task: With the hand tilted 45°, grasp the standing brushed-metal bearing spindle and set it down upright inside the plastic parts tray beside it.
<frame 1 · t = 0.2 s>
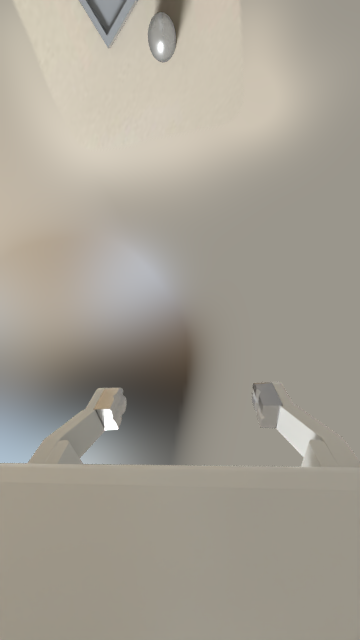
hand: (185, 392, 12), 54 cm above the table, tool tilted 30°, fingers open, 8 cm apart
metal spindle: (164, 40, 32), on the table
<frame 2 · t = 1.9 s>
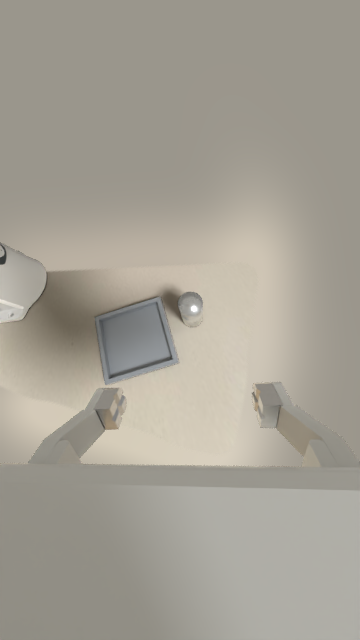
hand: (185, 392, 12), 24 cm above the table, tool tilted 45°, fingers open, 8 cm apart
parts tray: (137, 340, 38), on the table
metal spindle: (192, 317, 38), on the table
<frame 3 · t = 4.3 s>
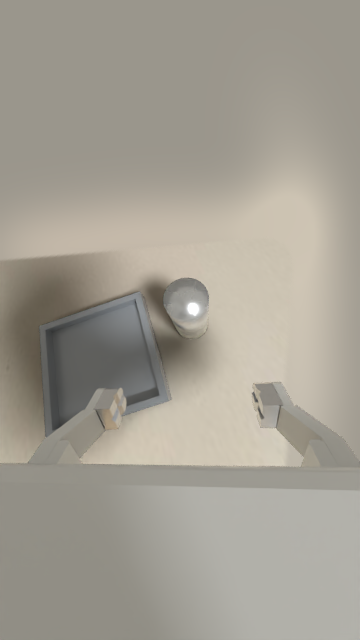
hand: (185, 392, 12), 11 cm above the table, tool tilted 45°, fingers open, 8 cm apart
parts tray: (104, 360, 24), on the table
metal spindle: (191, 323, 24), on the table
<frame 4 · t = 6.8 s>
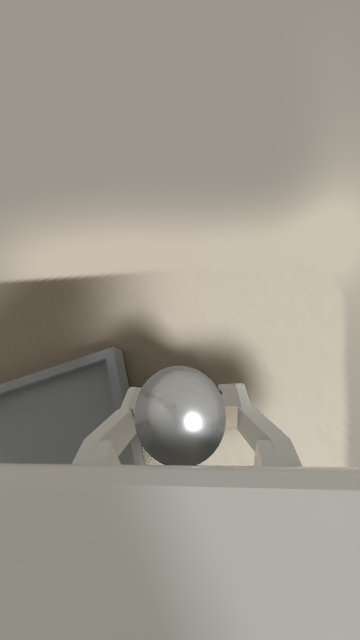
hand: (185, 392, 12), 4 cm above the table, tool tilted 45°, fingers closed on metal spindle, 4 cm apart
parts tray: (58, 453, 16), on the table
metal spindle: (191, 397, 16), on the table, touching gripper
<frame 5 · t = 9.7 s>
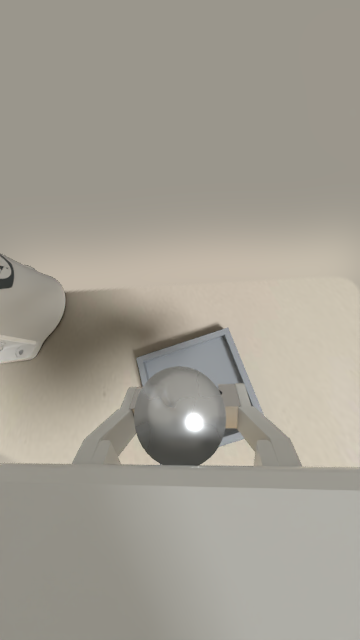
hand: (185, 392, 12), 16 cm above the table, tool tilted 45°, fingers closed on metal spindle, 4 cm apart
parts tray: (197, 390, 27), on the table
metal spindle: (191, 397, 16), point 12 cm above the table, touching gripper
when the fingers open (6 cm above the table, at t = 12.6 s): metal spindle drops 1 cm, resting on parts tray.
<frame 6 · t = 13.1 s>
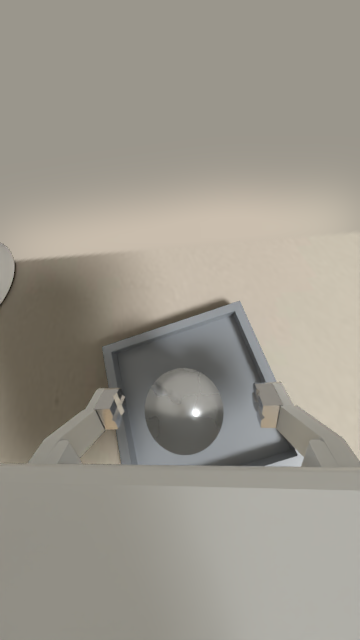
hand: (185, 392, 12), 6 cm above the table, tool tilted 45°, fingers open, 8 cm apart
parts tray: (193, 395, 18), on the table
metal spindle: (193, 396, 17), point 1 cm above the table, touching parts tray
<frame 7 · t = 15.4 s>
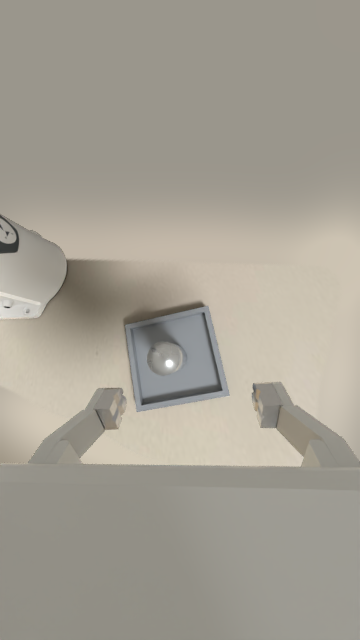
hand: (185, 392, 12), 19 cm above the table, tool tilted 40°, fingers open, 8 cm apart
parts tray: (175, 357, 31), on the table
metal spindle: (174, 357, 30), point 1 cm above the table, touching parts tray
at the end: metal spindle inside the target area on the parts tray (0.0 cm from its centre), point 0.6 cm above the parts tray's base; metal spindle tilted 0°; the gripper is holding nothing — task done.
